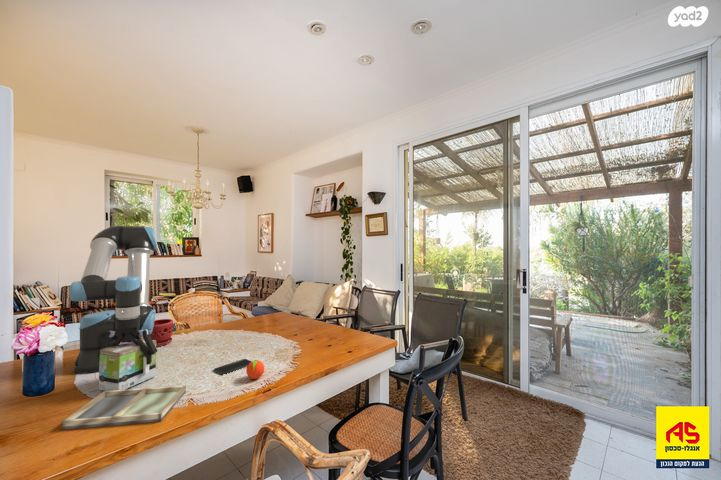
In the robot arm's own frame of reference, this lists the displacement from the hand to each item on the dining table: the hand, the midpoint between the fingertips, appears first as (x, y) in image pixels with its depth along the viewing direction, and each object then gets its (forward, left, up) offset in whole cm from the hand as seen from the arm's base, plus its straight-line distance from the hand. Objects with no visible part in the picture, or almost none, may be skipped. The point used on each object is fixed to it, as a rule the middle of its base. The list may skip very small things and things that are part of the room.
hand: (127, 373), depth 119 cm
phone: (+36, +11, -5) cm, 38 cm away
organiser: (+11, -19, -4) cm, 23 cm away
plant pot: (-11, +49, -4) cm, 50 cm away
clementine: (+47, -2, -4) cm, 47 cm away
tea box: (0, 0, -4) cm, 4 cm away
